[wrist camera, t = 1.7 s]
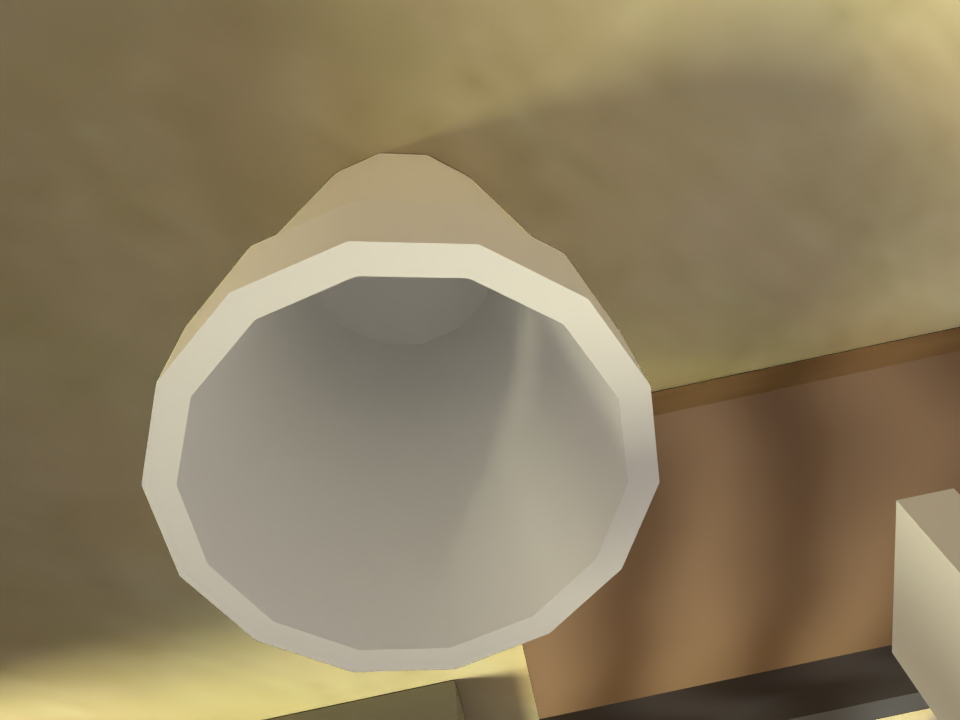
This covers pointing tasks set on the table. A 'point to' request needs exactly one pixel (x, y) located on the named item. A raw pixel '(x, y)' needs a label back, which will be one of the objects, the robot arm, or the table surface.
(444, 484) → the foam cup
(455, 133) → the table surface
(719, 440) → the shelf board
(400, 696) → the frame
